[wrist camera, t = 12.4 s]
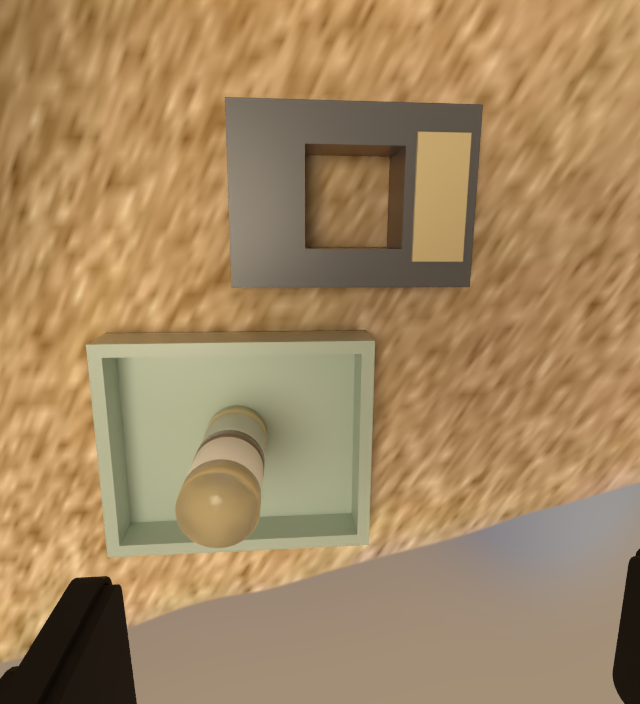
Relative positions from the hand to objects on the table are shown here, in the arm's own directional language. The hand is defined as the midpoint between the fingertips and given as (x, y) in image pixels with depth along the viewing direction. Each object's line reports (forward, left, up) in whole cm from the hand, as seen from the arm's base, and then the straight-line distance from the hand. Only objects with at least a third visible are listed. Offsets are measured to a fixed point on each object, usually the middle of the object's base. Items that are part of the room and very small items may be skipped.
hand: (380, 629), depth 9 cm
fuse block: (-3, -9, -26) cm, 27 cm away
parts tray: (+4, +6, -26) cm, 27 cm away
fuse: (+4, +6, -25) cm, 26 cm away
